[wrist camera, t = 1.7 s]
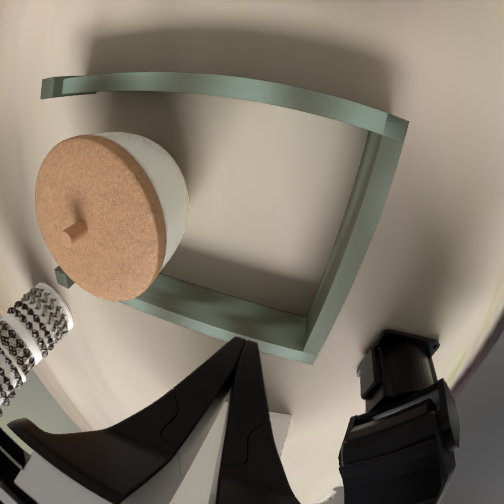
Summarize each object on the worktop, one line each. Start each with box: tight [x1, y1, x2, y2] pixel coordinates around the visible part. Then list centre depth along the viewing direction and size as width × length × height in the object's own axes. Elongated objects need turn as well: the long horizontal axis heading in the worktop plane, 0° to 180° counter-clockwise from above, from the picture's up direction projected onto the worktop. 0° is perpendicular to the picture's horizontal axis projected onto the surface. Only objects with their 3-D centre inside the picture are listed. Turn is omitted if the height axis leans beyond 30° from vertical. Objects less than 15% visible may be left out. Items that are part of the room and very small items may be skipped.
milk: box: [170, 402, 291, 504], centre depth 24 cm, size 12×12×26 cm
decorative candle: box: [0, 283, 74, 417], centre depth 23 cm, size 9×9×25 cm
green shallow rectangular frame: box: [41, 72, 409, 365], centre depth 19 cm, size 24×18×5 cm
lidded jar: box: [35, 132, 189, 301], centre depth 17 cm, size 11×11×9 cm
